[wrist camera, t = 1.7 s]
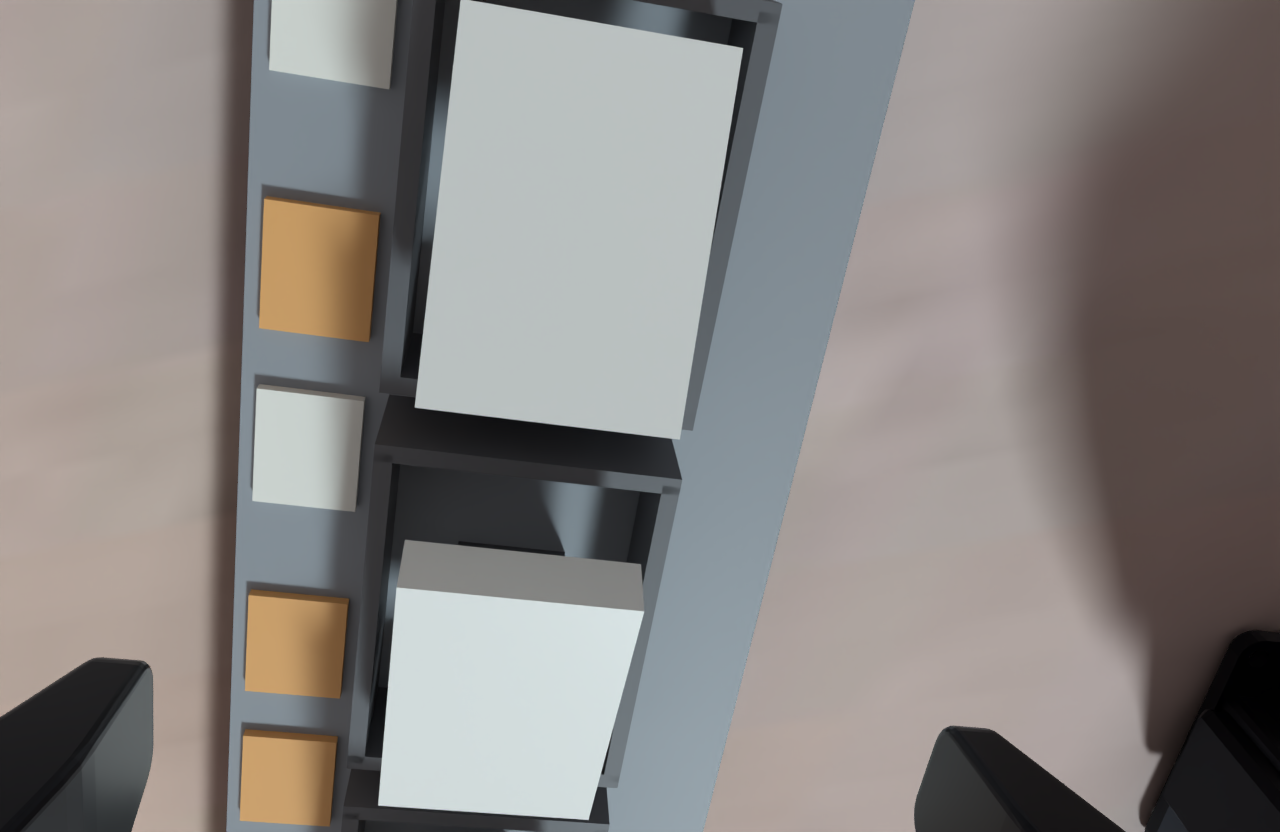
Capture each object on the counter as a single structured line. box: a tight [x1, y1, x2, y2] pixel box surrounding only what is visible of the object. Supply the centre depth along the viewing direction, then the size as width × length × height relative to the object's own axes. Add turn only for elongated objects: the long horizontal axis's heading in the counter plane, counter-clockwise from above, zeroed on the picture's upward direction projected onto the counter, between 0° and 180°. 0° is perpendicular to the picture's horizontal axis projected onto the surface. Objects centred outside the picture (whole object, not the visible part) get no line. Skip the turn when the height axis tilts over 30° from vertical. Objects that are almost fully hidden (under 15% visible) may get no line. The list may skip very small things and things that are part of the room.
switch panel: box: [226, 0, 915, 832], centre depth 21 cm, size 10×23×4 cm, turn 170°
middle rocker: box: [378, 540, 644, 820], centre depth 18 cm, size 4×5×1 cm
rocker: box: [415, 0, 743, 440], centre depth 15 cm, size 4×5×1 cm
